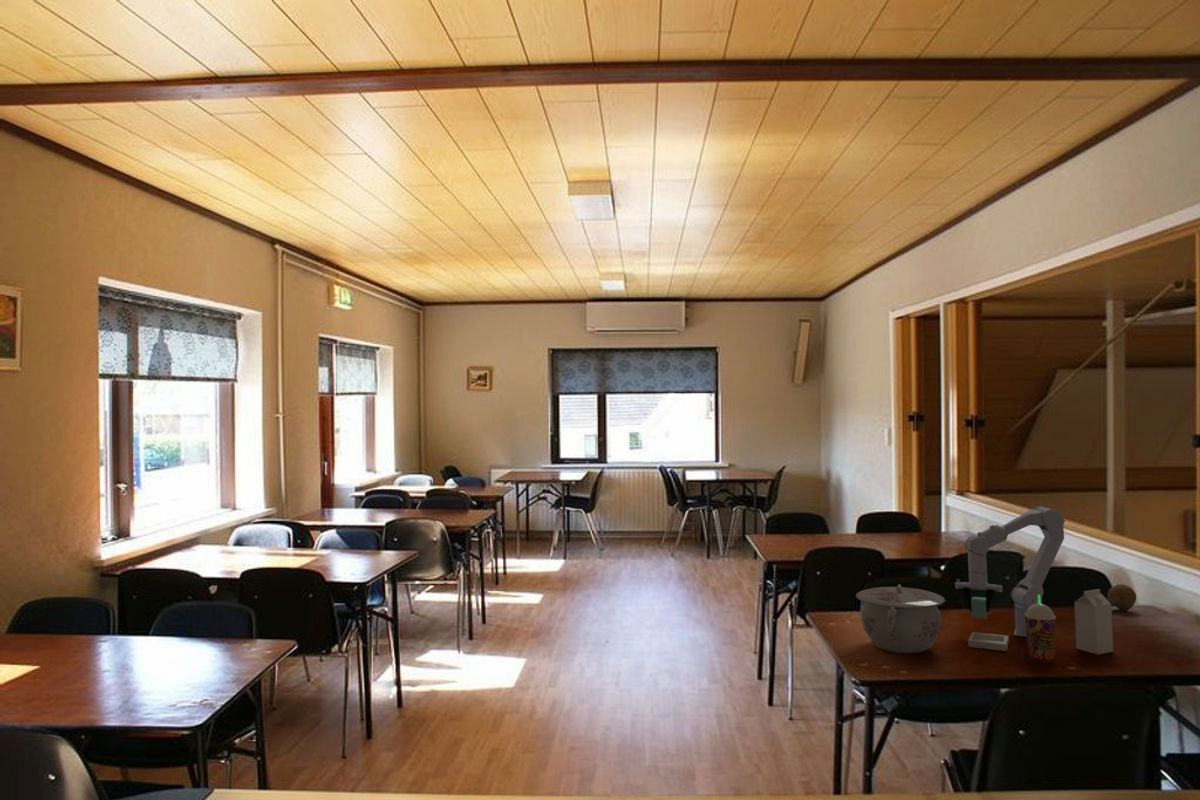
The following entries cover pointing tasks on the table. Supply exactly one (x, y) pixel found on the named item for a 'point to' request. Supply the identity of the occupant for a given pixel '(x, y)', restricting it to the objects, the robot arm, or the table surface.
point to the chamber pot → (901, 618)
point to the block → (979, 607)
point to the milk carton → (1093, 623)
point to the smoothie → (1040, 632)
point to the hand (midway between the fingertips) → (979, 611)
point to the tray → (988, 641)
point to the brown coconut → (1122, 597)
